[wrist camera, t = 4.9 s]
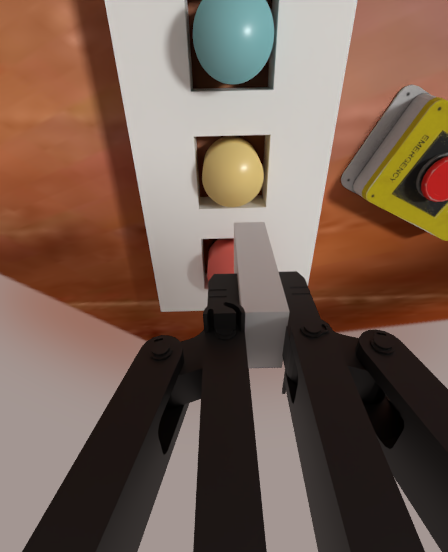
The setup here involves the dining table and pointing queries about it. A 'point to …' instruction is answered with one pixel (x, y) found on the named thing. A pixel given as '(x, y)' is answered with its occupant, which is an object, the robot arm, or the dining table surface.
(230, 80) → the teal button
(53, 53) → the dining table surface
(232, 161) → the ochre button
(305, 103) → the button panel
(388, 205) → the emergency button
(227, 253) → the red button
